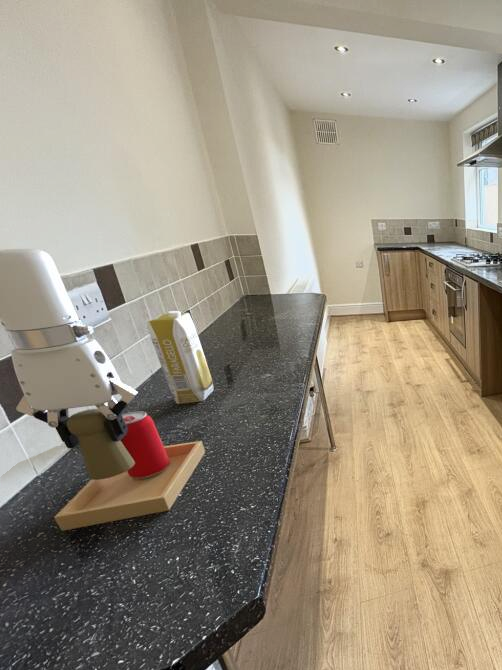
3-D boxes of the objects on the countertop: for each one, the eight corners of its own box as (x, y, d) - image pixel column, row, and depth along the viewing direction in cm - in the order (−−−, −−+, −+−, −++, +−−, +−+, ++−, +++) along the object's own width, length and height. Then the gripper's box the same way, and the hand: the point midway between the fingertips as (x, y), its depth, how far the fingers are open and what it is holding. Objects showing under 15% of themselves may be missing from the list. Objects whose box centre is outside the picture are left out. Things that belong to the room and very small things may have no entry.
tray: (61, 531, 66) (53, 517, 65) (121, 465, 83) (116, 453, 82) (169, 510, 71) (163, 497, 69) (205, 451, 88) (201, 440, 86)
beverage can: (163, 459, 84) (141, 406, 79) (177, 468, 81) (155, 414, 76) (124, 474, 79) (99, 420, 74) (138, 485, 76) (112, 428, 71)
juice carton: (206, 402, 110) (176, 314, 100) (171, 406, 108) (138, 317, 98) (218, 389, 118) (192, 306, 109) (186, 392, 116) (157, 308, 106)
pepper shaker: (78, 477, 68) (48, 419, 64) (118, 457, 74) (93, 402, 69) (105, 482, 67) (76, 423, 63) (144, 461, 72) (119, 406, 68)
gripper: (131, 324, 67) (169, 422, 74) (-8, 335, 62) (47, 439, 69) (107, 337, 60) (150, 442, 67) (-51, 350, 55) (15, 463, 62)
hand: (98, 439), depth 68 cm, fingers closed on pepper shaker, 5 cm apart
